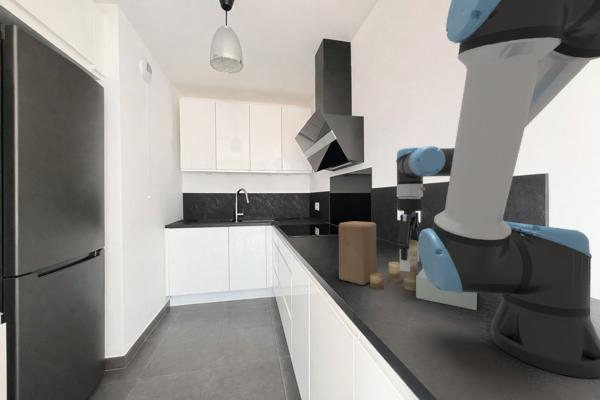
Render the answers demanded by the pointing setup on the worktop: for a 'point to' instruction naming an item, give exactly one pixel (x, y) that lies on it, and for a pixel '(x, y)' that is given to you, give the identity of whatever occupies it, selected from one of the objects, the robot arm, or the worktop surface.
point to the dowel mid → (394, 272)
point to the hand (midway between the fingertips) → (410, 265)
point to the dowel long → (411, 268)
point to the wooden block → (357, 251)
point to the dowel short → (376, 281)
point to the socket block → (443, 294)
